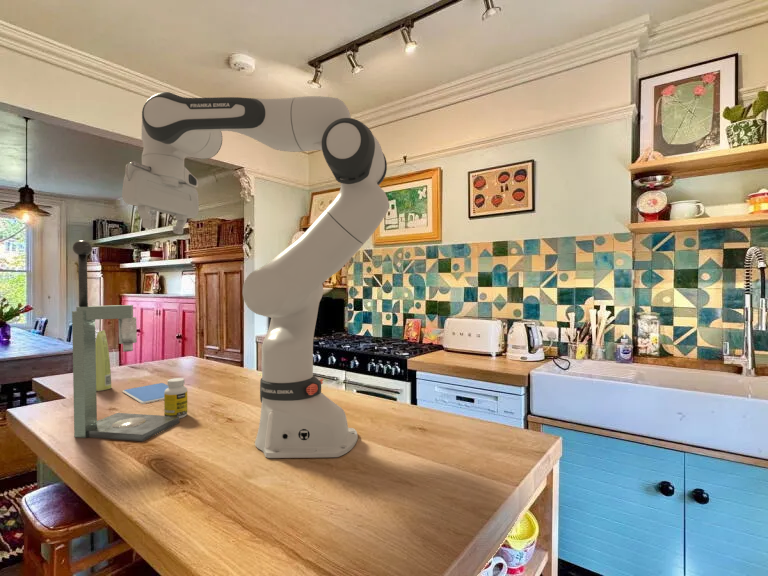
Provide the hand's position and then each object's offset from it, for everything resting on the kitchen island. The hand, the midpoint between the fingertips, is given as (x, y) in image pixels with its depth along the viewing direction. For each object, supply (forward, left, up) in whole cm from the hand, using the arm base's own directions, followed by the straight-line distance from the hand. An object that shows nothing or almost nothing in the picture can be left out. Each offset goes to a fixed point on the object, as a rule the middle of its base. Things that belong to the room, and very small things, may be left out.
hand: (163, 231), depth 94 cm
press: (+10, 0, -48) cm, 49 cm away
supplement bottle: (+5, -10, -48) cm, 49 cm away
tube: (+48, -30, -48) cm, 74 cm away
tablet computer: (+27, -28, -48) cm, 62 cm away
